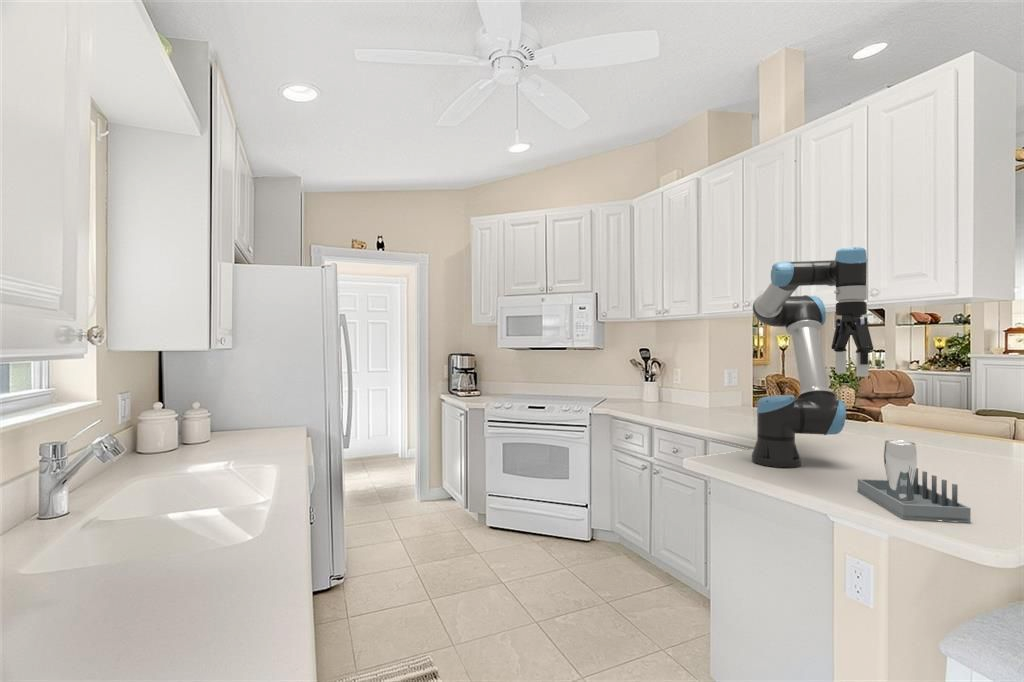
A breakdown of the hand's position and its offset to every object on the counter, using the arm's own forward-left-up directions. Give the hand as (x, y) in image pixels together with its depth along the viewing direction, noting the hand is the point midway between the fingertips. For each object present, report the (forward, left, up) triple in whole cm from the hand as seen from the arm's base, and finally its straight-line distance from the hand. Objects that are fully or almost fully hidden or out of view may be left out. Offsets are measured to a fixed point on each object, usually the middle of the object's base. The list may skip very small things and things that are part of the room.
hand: (851, 374), depth 150 cm
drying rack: (+16, +7, -33) cm, 37 cm away
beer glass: (+14, +6, -32) cm, 35 cm away
